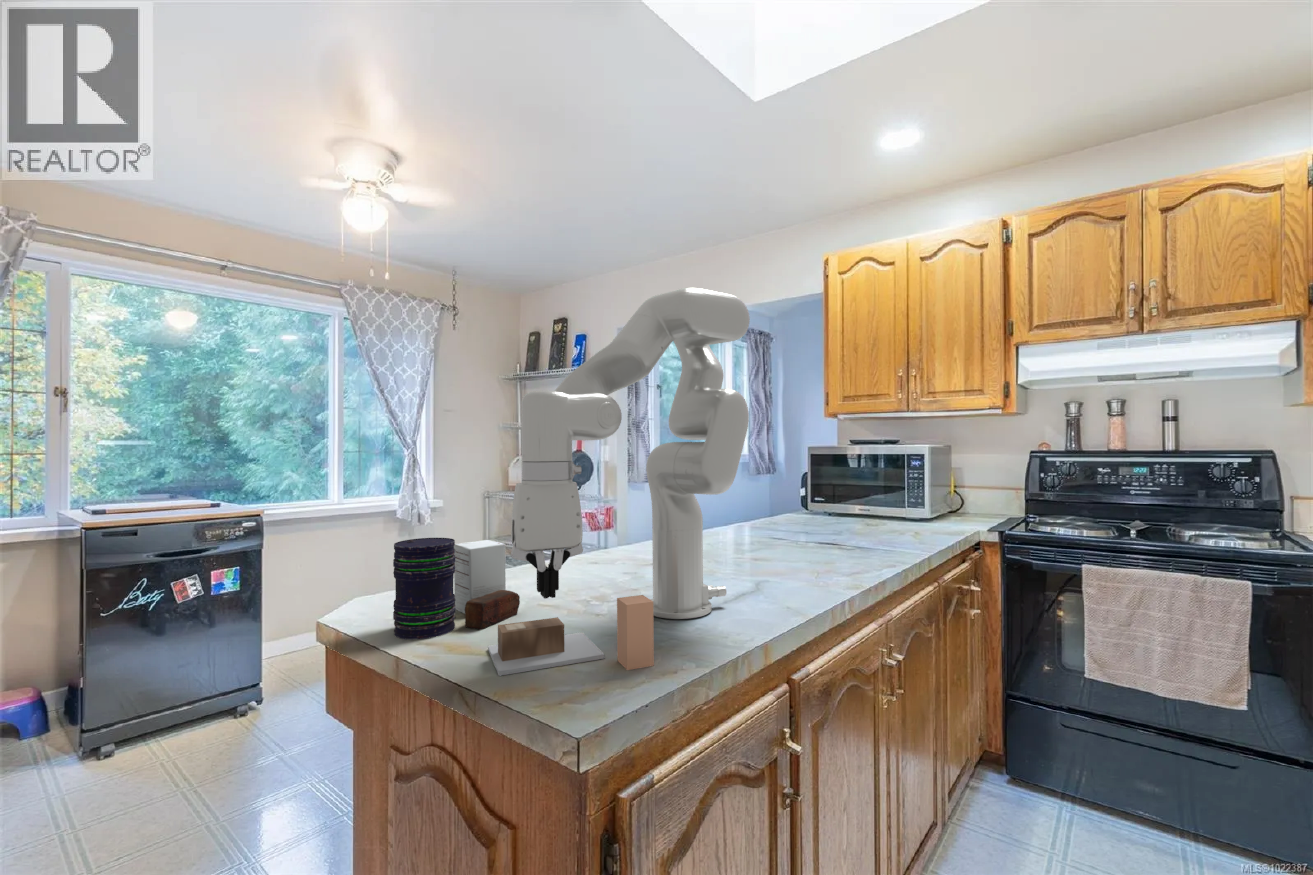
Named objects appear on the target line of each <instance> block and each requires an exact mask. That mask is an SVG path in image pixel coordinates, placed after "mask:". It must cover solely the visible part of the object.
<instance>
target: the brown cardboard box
mask: <svg viewBox="0 0 1313 875" xmlns="http://www.w3.org/2000/svg"><path fill="white" fill-rule="evenodd" d="M564 635H565V624H564V622H562V621H561V619H560V618H559V617H558V616H557V617H549V618H542V619H535V620H527V621H519V622H510V623H505V624H498V625H497V644H498V653H499V656H500V658H501V660H502V661H508V660H515V659H521V658H527V657H534V656H540V655H547V654H553V653H560V652H564Z"/></svg>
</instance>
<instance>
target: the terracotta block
mask: <svg viewBox="0 0 1313 875" xmlns="http://www.w3.org/2000/svg"><path fill="white" fill-rule="evenodd" d="M616 618H617V619H616V625H617V626H616V629H617V630H616V632H617V633H616V638H617V639H616V642H617V645H616V646H617V650H616V651H617V655H616V656H617V657H616V658H617V661H618V662H619V664H620V665H622V666H623V667H624V669H625V670H626V671H630V670H631V671H632V670H637V669H642V668H647V667H648V668H649V667H654V666H655V664H654V663H655V660H654V659H655V658H654V655H655V652H654V651H655V650H654V648H655V647H654V646H655V645H654V644H655V640H654V639H655V638H654V637H655V634H654V627H655V626H654V625H655V624H654V616H653V601H652V600H650V598H648V597H647V596H645V595H643V594H639V595H630V596H623V597H617V598H616Z"/></svg>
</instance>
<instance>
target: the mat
mask: <svg viewBox="0 0 1313 875" xmlns="http://www.w3.org/2000/svg"><path fill="white" fill-rule="evenodd" d="M487 650H488V651H487V652H488V653H489V655H490V658H491V661H492V662H493V663H492V664H493V665H494V667H495V670H496V673H497V675H498V676H499V677H500V676H505V675H513V674H517V673H524V672H530V671H531V672H532V671H536V670H541V669H542V670H543V669H548V668H553V667H560V666H566V665H567V666H568V665H573V664H578V663H585V662H590V661H597V660H603V659H605V654H604V652H603V651H602V650H601V649H600V648H599V647H598V646H597V645H596V644H595V643H594V642H593V641H592V640H591V639H590V638H589V637H588V636H587V635H586V634H585V633H584V632H576V633H568V634H564V652H560V653H553V654H547V655H540V656H534V657H527V658H521V659H515V660H508V661H502V660H501V658H500V656H499V653H498V643H497V644H492V645H487Z"/></svg>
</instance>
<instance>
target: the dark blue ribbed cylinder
mask: <svg viewBox="0 0 1313 875" xmlns="http://www.w3.org/2000/svg"><path fill="white" fill-rule="evenodd" d="M455 544H456V540H455V539H454V538H449V537H422V538H411V539H405V540H400V541H397V542H394V543H393V550H394V552H393V560H392V563H393V564H392V566H393V573H392V574H393V577H394V579H395V599H394V601H393V612H392V613H393V614H392V616H393V617H392V620H393V621H394V622H393V625H394V630H393V635H394V637H395V636H396V637H395V638H397V639H402V640H410V641H413V640H427V639H431V638H432V639H433V638H436V636H438V637H441V636H443V635H444V636H445V635H447V634H448V633H451V632H453V631H454V630H455V627H456V622H455V619H456V611H457V610H456V605H455V601H456V599H455V595H454V573H455V568H456V567H455V548H454V545H455Z"/></svg>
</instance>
